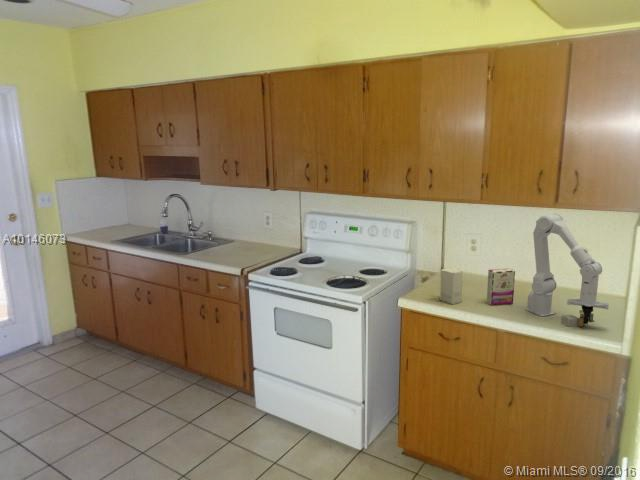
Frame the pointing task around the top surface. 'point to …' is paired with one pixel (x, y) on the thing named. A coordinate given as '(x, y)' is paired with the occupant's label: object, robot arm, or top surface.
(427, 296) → the top surface
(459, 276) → the skincare box
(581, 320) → the gate
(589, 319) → the gate posts
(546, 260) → the robot arm
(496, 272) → the candy bar box
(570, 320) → the doorstop block
